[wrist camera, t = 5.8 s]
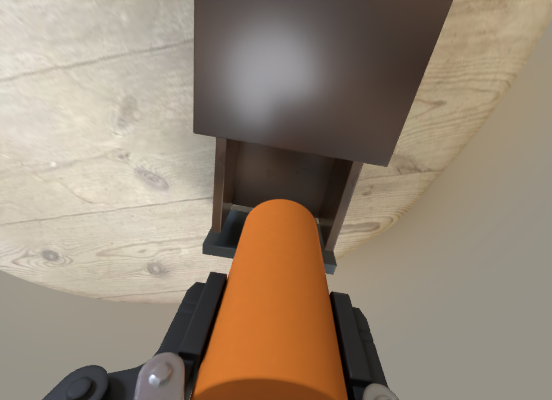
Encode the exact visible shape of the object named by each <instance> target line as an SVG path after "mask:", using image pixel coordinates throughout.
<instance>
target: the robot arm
mask: <svg viewBox="0 0 552 400" xmlns="http://www.w3.org/2000/svg"><path fill="white" fill-rule="evenodd" d="M226 282H227V274H222V273H216V272H210V274H209V277H208V279H207V282H206V283H200V282H196V283H195V284H194V285H193V286H191V287H190V288H189V289H188V290H187V292H186V294H185V296H184V298H183V300H182V303H181V305H180V307H179V309H178V312H177V313H176V315H175V317H174V319H173V321H172V323H171V325H170V327H169V329H168V332H167V334H166V336H165V338H164V340H163V342H162V344H161V346H160V348H159V350H158V351H157V352H156V354H155V355H154V356H153V357H152V358H151V359H149V360H148V361H147V362H146V363H144V364H142V365H141V366H138V367H136V368H132V369H128V370H123V371H118V372H113V373H108V374H107V371H106V370H105V369H104V368H103V367H100V366H96V365H90V366H85V367H82V368H80V369H77V370H76V371H74V372H72V373H70V374H69V375H68V376H66V377H65V378H64V379H63V380H62V381H61V382H60V383H59V384H58V385H57V386H56V387H55V388H54V389H53V390H52V391H51V392H50V393H48V394H47V396H45V397H44V399H42V400H189V398H190V395H191V392H192V390H193V387H194V384H195V381H196V378H197V374H198V371H199V368H200V365H201V362H202V359H203V355H204V352H205V349H206V346H207V343H208V339H209V336H210V333H211V330H212V327H213V323H214V320H215V317H216V314H217V311H218V307H219V304H220V301H221V298H222V294H223V291H224V288H225V285H226ZM329 297H330V302H331V308H332V313H333V319H334V325H335V330H336V336H337V342H338V347H339V353H340V358H341V364H342V370H343V375H344V381H345V386H346V392H347V398H348V400H399V399H398V397H397V396H396V395H395V394H394V393H393V392H392V391H391V390H390V389H389V388H388V385H387V382H386V380H385V376H384V373H383V370H382V367H381V363H380V361H379V357H378V354H377V351H376V348H375V345H374V343H373V338H372V335H371V333H370V328H369V325H368V322H367V319H366V318H365V316H364V315H363V314H362V312H361V311H360V309H359V308H355V307H352V304H351V300H350V297H349V295H348V294H344V293H338V292H331V293H330V295H329Z"/></svg>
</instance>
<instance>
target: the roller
mask: <svg viewBox="0 0 552 400" xmlns="http://www.w3.org/2000/svg"><path fill="white" fill-rule="evenodd" d="M190 400H348V398H347V392H346V386H345V381H344V375H343V370H342V364H341V358H340V353H339V347H338V342H337V336H336V330H335V325H334V319H333V313H332V308H331V302H330V297H329V291H328V286H327V280H326V275H325V269H324V263H323V257H322V252H321V246H320V241H319V235H318V229H317V224H316V221H315V219H314V217H313V215H312V214H311V213H310V212H309V210H307V209H306V208H305V207H304V206H302V205H301V204H299V203H297V202H294V201H291V200H286V199H274V200H269V201H266V202H263V203H261V204H259V205H258V206H256V207H255V208H254V209H253V210H252V211H251V212H250V213H249V215H248V216H247V218H246V221H245V224H244V227H243V230H242V233H241V237H240V240H239V243H238V246H237V249H236V253H235V256H234V259H233V262H232V265H231V269H230V272H229V275H228V278H227V282H226V285H225V288H224V291H223V294H222V298H221V301H220V304H219V307H218V311H217V314H216V317H215V320H214V323H213V327H212V330H211V333H210V336H209V339H208V343H207V346H206V349H205V352H204V355H203V359H202V362H201V365H200V368H199V371H198V374H197V378H196V381H195V384H194V387H193V390H192V394H191V397H190Z"/></svg>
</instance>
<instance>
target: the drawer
mask: <svg viewBox="0 0 552 400" xmlns="http://www.w3.org/2000/svg"><path fill="white" fill-rule="evenodd" d="M362 166H363V163H362V162H356V161H350V160H344V159H339V158H333V157H327V156H321V155H316V154H310V153H304V152H299V151H293V150H287V149H281V148H276V147H270V146H264V145H258V144H253V143H247V142H241V141H236V140H230V139H224V138H218V137H216V155H215V175H214V195H213V215H212V227H211V229H210V231H209V233H208V235H207V237H206V239H205V241H204V243H203V252H202V253H203V254H207V255H213V256H220V257H226V258H232V259H234V256H235V253H236V249H237V246H238V243H239V240H240V237H241V233H242V230H243V227H244V224H245V221H246V218H247V216H248V215H249V212H243V211H237V210H231V208H232V205H233V204H235V205H241V206H247V207H253V208H255V207H256V206H258V205H259V204H261V203H263V202H266V201H269V200H274V199H286V200H291V201H294V202H297V203H299V204H301V205H302V206H304V207H305V208H306V209H307V210H309V212H310V213H311V214H312V215H313V217H314V218H318V220H319V224H317V229H318V235H319V241H320V246H321V252H322V257H323V263H324V269H325V273H327V274H334V272H335V269H336V266H337V264H336V260H335V256H334V252H333V250H334V247H335V244H336V241H337V238H338V236H339V233H340V230H341V227H342V224H343V221H344V218H345V215H346V212H347V209H348V206H349V204H350V201H351V198H352V195H353V192H354V189H355V186H356V183H357V180H358V177H359V174H360V172H361V169H362Z"/></svg>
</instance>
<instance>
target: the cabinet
mask: <svg viewBox="0 0 552 400" xmlns="http://www.w3.org/2000/svg"><path fill="white" fill-rule="evenodd" d="M452 1H453V0H194V118H193V132H194V133H195V134H201V135H207V136H213V137H218V138H224V139H230V140H236V141H241V142H247V143H253V144H258V145H264V146H270V147H276V148H281V149H287V150H293V151H299V152H304V153H310V154H316V155H321V156H327V157H333V158H339V159H344V160H350V161H356V162H362V163H367V164H373V165H379V166H384V167H387V166H388V164H389V161H390V159H391V156H392V154H393V151H394V149H395V146H396V144H397V141H398V139H399V136H400V133H401V131H402V128H403V126H404V123H405V121H406V118H407V116H408V113H409V111H410V108H411V106H412V103H413V100H414V98H415V95H416V93H417V90H418V88H419V85H420V83H421V80H422V78H423V75H424V72H425V70H426V67H427V65H428V62H429V60H430V57H431V55H432V52H433V50H434V47H435V45H436V42H437V39H438V37H439V34H440V32H441V29H442V27H443V24H444V22H445V19H446V17H447V14H448V12H449V9H450V6H451V4H452Z"/></svg>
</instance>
